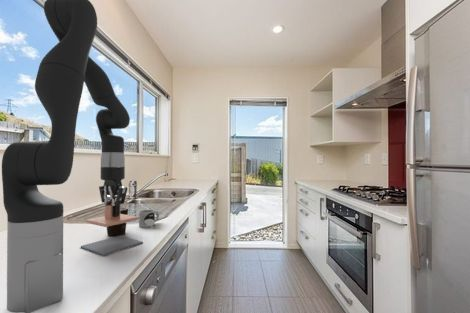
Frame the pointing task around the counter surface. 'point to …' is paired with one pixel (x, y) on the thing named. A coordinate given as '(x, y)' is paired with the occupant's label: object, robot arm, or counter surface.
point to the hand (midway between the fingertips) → (112, 215)
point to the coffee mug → (118, 225)
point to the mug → (147, 218)
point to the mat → (111, 245)
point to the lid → (111, 218)
